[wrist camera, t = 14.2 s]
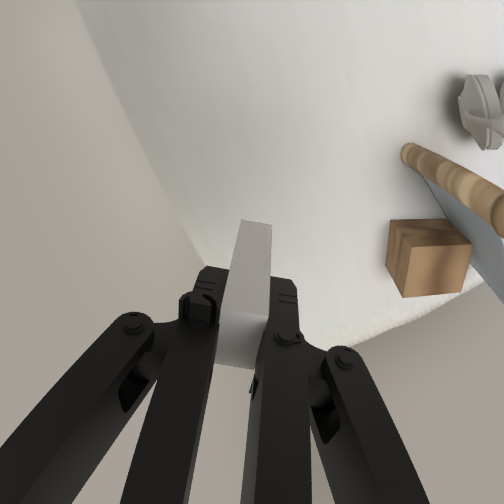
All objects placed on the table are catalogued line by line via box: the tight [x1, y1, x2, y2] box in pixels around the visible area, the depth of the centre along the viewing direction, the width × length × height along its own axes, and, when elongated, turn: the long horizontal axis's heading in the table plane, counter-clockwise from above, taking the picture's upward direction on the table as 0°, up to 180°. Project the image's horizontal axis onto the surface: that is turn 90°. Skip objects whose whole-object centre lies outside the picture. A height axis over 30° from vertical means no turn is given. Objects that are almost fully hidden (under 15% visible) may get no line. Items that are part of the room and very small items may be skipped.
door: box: [421, 174, 504, 304], centre depth 30 cm, size 4×20×18 cm, turn 44°
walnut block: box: [385, 219, 473, 298], centre depth 37 cm, size 9×7×8 cm
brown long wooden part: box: [401, 143, 504, 239], centre depth 25 cm, size 8×3×22 cm, turn 81°
